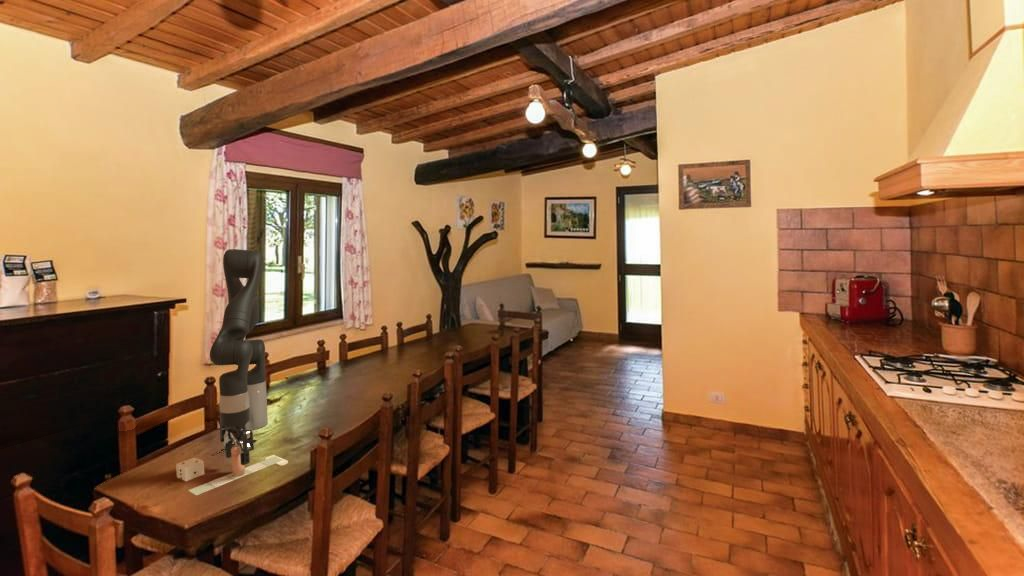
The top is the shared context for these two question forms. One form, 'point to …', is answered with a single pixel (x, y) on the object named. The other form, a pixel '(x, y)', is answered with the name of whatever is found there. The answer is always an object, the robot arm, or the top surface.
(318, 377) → the top surface
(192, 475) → the die
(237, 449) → the pawn
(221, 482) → the board
